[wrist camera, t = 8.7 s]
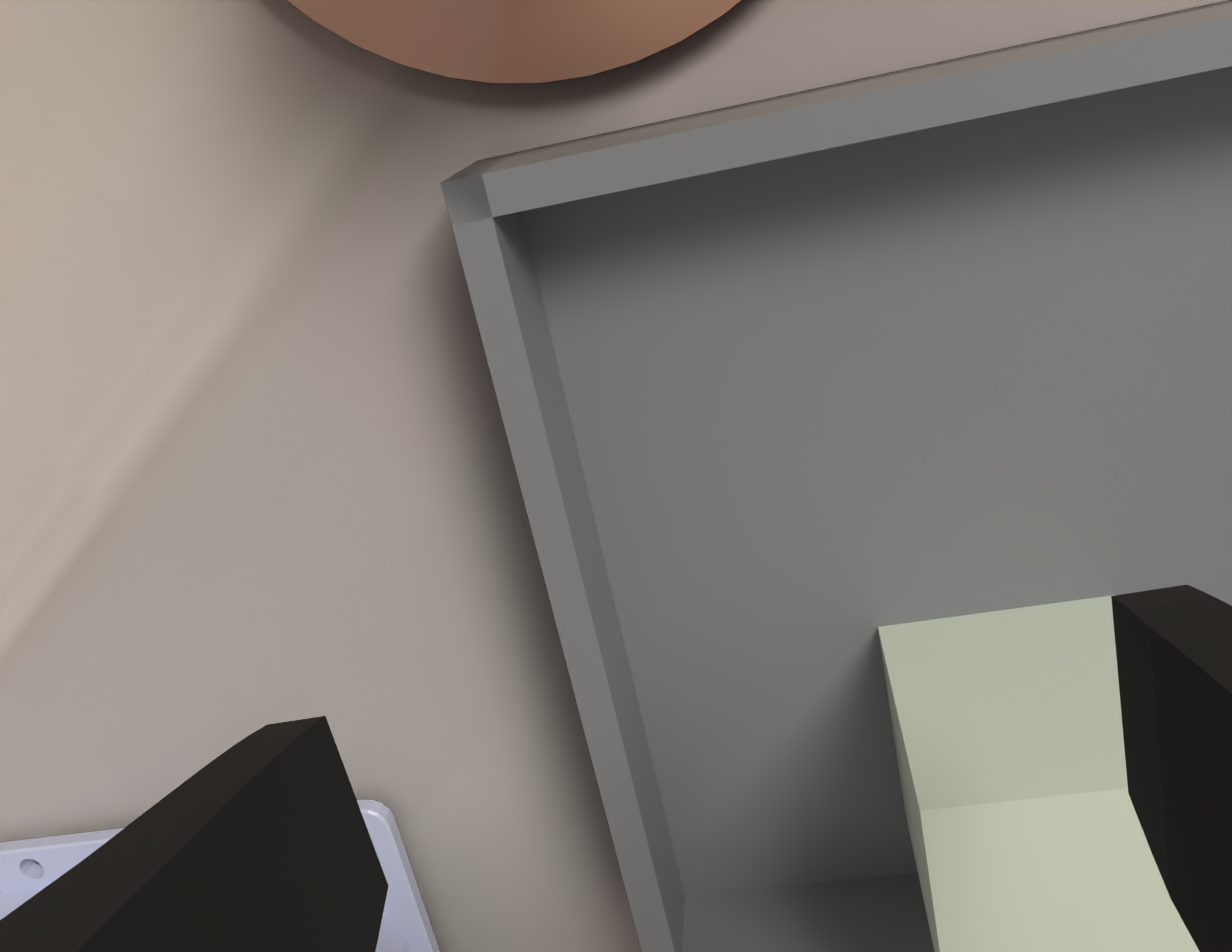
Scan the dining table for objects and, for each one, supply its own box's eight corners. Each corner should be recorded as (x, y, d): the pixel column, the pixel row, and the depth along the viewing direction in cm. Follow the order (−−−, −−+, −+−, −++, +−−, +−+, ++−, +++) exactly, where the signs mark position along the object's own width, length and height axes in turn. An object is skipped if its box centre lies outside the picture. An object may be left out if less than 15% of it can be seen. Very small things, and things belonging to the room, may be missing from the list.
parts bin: (662, 904, 24) (654, 1001, 21) (477, 160, 18) (440, 183, 16) (1412, 831, 21) (1494, 931, 19) (1453, -48, 16) (1574, -57, 14)
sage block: (904, 811, 22) (950, 1028, 17) (877, 627, 20) (920, 810, 16) (1127, 786, 21) (1238, 1007, 16) (1115, 594, 20) (1233, 776, 15)
